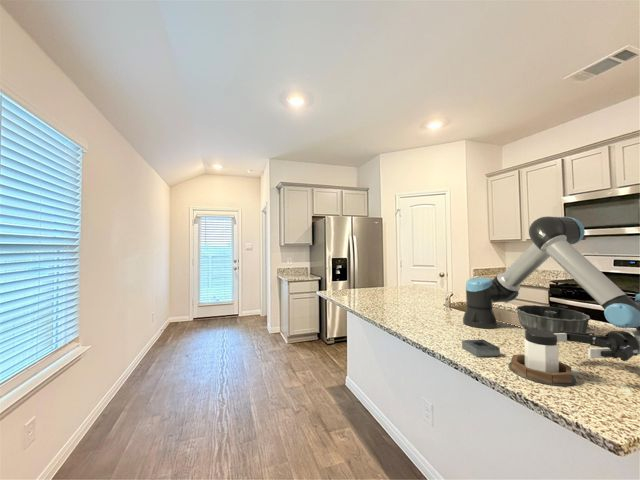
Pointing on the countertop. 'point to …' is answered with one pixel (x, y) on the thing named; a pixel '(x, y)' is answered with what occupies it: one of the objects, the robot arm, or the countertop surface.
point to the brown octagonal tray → (542, 373)
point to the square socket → (480, 348)
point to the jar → (541, 351)
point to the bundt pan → (552, 319)
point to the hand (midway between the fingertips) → (567, 345)
